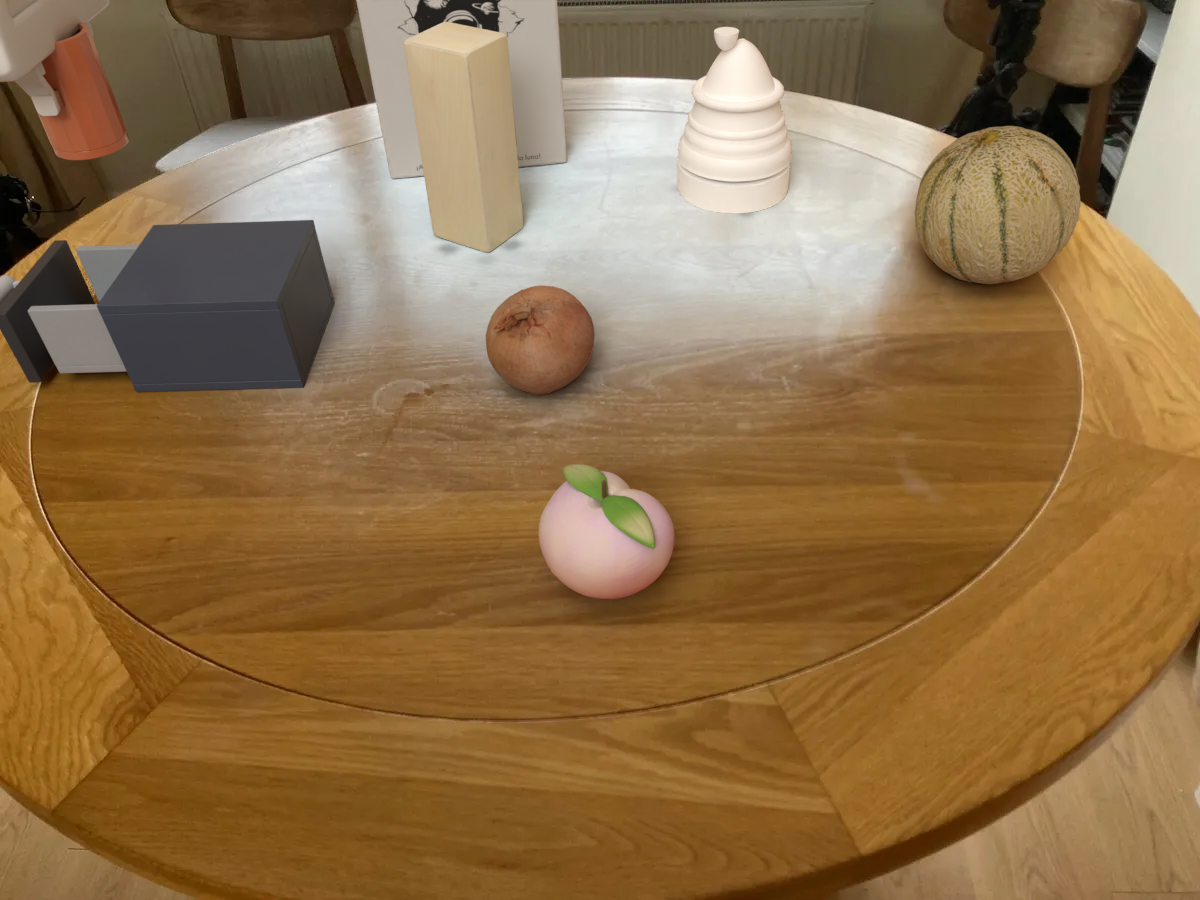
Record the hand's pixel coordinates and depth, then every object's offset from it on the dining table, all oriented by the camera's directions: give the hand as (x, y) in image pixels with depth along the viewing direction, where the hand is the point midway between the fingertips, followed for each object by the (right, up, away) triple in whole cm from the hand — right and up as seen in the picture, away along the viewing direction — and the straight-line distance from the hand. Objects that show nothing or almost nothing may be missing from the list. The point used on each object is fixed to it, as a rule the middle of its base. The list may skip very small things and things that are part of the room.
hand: (71, 94), depth 85 cm
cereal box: (+32, +5, +35) cm, 48 cm away
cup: (0, -4, +3) cm, 5 cm away
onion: (+42, -25, +1) cm, 49 cm away
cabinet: (+12, -22, +7) cm, 26 cm away
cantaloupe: (+85, -14, +12) cm, 87 cm away
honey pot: (+62, -1, +27) cm, 68 cm away
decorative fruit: (+47, -41, -17) cm, 65 cm away
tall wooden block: (+34, -7, +22) cm, 41 cm away
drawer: (0, -21, +6) cm, 22 cm away
